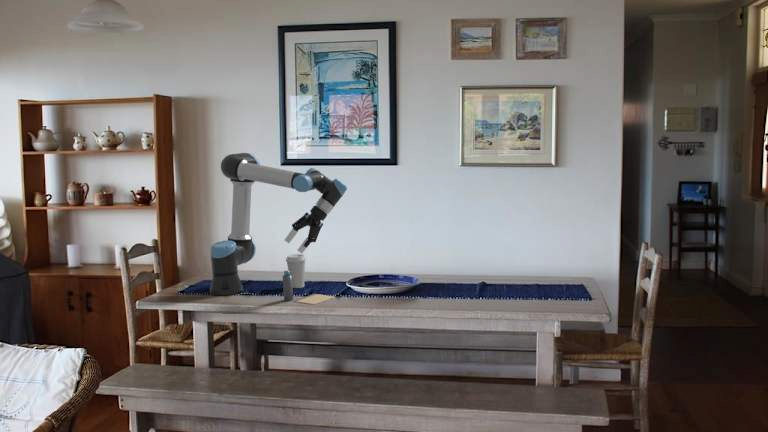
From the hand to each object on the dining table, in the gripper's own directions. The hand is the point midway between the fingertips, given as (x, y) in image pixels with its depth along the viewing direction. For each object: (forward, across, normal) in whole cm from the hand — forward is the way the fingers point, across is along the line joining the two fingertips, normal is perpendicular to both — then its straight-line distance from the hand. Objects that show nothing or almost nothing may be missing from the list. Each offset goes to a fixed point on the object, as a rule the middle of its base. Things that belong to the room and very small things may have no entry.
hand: (292, 246), depth 305 cm
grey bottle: (+20, +12, +7) cm, 24 cm away
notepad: (+12, +19, +13) cm, 26 cm away
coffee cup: (+14, -8, +21) cm, 27 cm away
